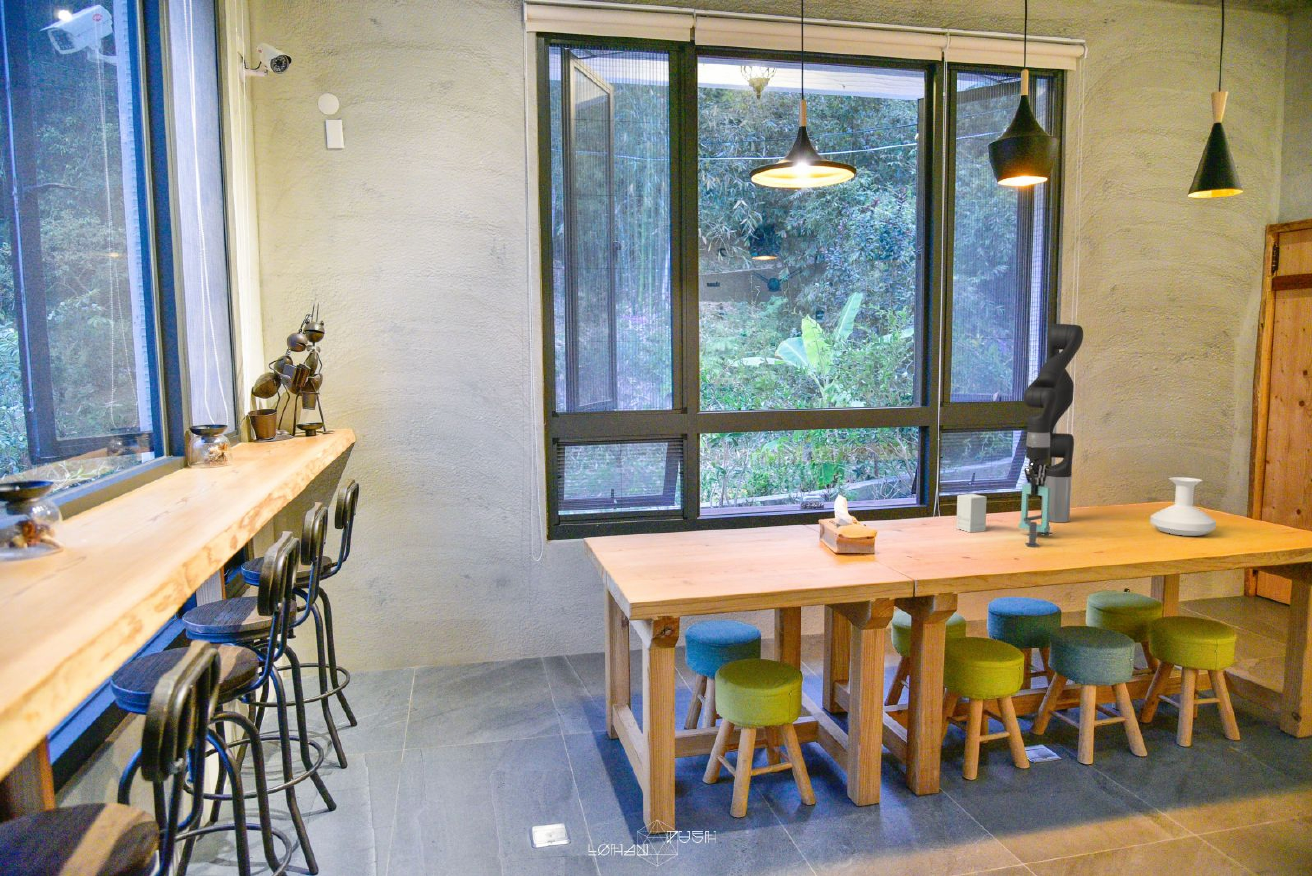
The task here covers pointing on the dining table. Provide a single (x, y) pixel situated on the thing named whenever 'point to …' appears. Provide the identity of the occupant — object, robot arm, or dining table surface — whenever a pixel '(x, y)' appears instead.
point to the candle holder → (1183, 512)
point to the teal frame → (1045, 511)
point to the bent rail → (1034, 530)
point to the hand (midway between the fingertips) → (1035, 494)
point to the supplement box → (971, 513)
